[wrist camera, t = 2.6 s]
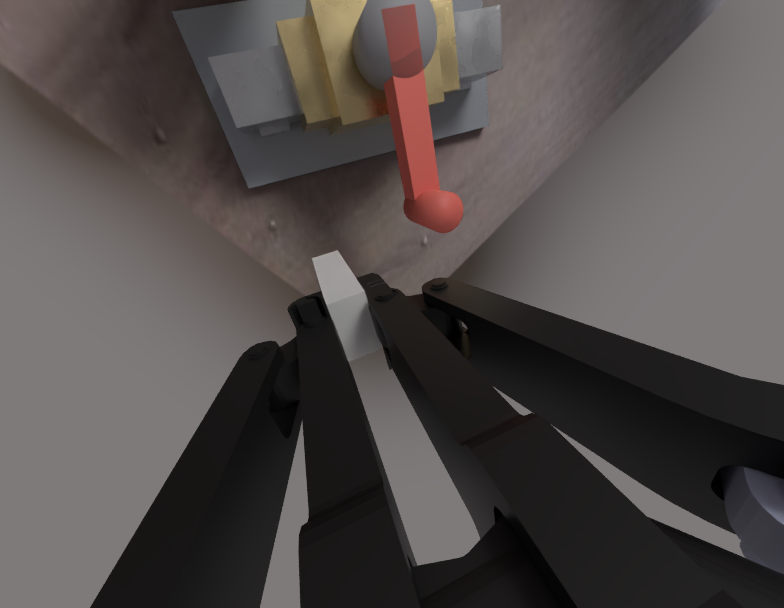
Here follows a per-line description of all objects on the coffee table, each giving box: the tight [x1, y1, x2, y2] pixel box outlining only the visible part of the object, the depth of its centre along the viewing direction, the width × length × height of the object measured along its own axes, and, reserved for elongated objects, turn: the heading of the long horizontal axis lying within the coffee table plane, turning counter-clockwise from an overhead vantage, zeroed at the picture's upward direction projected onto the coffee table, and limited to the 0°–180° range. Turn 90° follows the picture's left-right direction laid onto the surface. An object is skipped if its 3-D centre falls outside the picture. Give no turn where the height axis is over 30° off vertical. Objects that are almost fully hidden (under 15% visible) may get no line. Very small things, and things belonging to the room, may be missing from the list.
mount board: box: [172, 0, 489, 189], centre depth 26 cm, size 25×12×1 cm, turn 104°
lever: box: [353, 0, 463, 233], centre depth 19 cm, size 14×4×6 cm, turn 14°
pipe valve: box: [208, 0, 503, 138], centre depth 22 cm, size 22×7×7 cm, turn 104°
